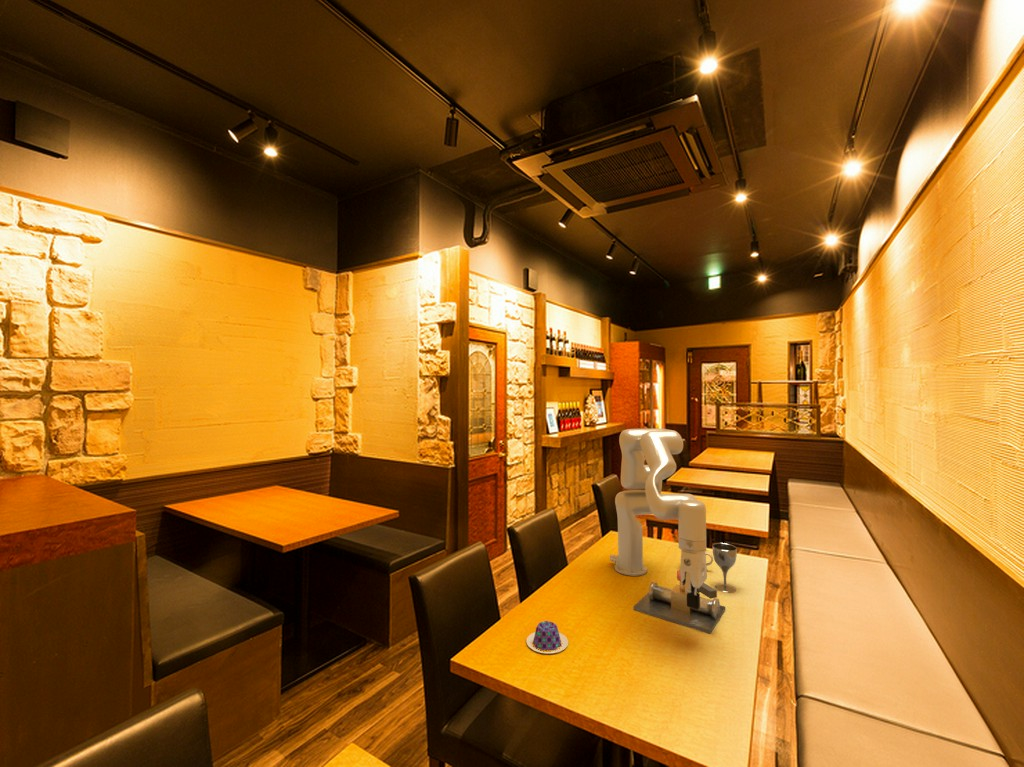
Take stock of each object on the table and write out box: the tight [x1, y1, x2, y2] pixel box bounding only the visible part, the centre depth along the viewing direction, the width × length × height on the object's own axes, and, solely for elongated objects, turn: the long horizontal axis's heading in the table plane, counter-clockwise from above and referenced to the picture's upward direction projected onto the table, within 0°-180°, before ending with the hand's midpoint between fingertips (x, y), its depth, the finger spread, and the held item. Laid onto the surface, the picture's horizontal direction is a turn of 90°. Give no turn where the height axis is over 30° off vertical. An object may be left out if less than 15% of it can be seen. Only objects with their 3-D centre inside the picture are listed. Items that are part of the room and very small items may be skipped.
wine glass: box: [712, 542, 738, 593], centre depth 163 cm, size 8×8×15 cm
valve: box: [632, 581, 726, 634], centre depth 148 cm, size 24×18×10 cm
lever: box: [676, 569, 718, 600], centre depth 142 cm, size 16×4×2 cm, turn 17°
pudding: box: [526, 620, 569, 654], centre depth 130 cm, size 12×12×5 cm
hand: (693, 606), depth 130 cm, fingers closed
